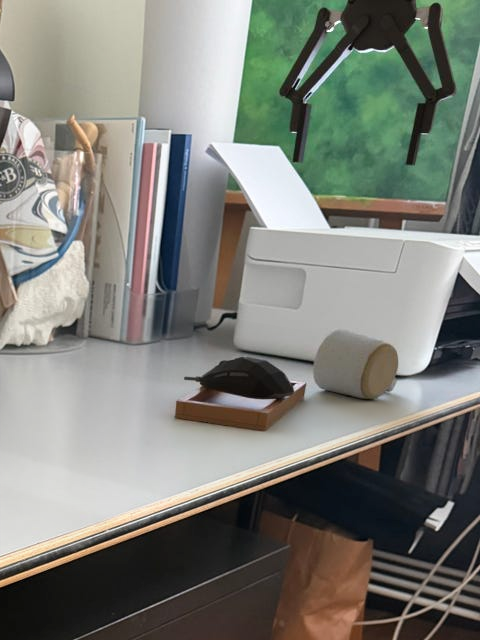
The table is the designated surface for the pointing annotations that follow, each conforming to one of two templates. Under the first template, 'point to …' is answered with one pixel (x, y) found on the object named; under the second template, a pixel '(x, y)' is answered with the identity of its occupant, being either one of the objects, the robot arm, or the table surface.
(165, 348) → the table surface
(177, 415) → the wooden tray
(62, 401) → the table surface
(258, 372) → the gaming mouse
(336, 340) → the ceramic mug
